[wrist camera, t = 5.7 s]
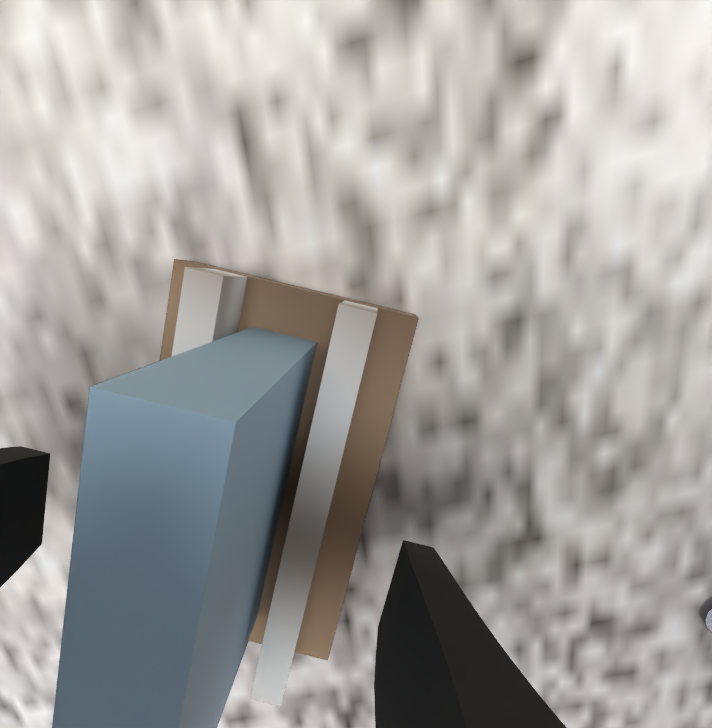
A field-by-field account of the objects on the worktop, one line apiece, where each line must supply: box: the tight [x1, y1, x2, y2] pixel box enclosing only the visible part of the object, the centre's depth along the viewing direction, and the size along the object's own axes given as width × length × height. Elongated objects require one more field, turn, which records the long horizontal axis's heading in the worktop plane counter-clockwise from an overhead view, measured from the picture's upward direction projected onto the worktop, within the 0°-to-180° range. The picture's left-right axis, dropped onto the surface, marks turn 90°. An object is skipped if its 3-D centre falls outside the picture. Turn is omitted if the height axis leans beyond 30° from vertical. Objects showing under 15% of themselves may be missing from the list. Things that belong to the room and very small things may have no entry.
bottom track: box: [160, 259, 418, 707], centre depth 11 cm, size 10×6×3 cm, turn 167°
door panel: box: [52, 327, 317, 728], centre depth 8 cm, size 8×2×6 cm, turn 167°
